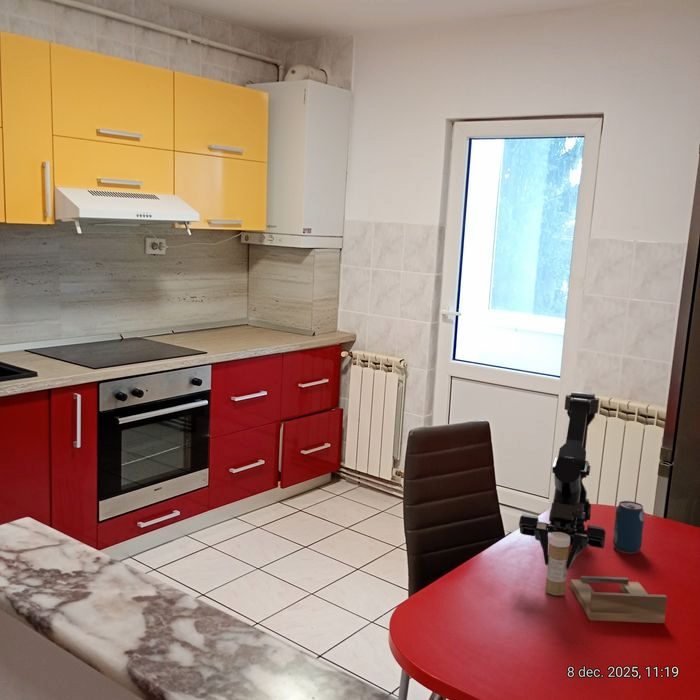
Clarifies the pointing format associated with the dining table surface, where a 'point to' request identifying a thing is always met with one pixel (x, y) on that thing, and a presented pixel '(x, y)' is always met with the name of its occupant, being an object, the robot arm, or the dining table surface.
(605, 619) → the wooden frame
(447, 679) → the dining table surface
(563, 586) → the sprinkles bottle
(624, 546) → the soda can
